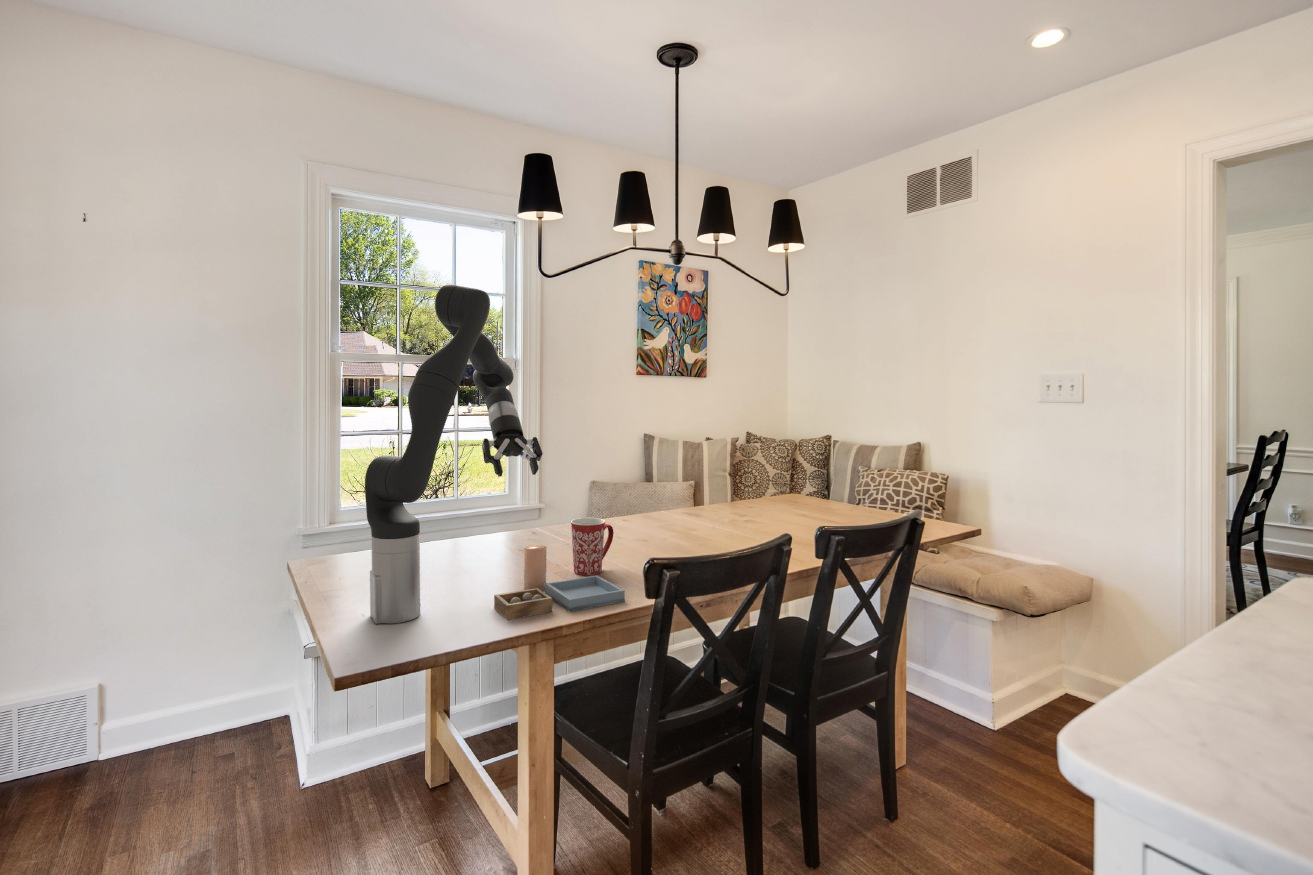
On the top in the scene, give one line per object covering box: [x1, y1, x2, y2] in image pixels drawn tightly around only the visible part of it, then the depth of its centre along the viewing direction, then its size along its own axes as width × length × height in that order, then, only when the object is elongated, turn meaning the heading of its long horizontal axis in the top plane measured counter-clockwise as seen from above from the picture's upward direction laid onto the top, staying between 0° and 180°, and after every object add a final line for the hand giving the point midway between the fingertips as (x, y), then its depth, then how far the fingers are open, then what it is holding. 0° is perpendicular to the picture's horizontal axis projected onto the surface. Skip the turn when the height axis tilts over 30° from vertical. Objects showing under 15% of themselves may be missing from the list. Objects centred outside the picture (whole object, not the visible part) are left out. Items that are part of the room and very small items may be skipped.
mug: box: [570, 517, 615, 576], centre depth 171 cm, size 13×9×14 cm
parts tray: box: [493, 588, 553, 621], centre depth 140 cm, size 10×8×3 cm
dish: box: [544, 574, 626, 612], centre depth 149 cm, size 14×14×3 cm
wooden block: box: [523, 544, 548, 592], centre depth 155 cm, size 5×5×10 cm
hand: (518, 473), depth 159 cm, fingers open, 8 cm apart
